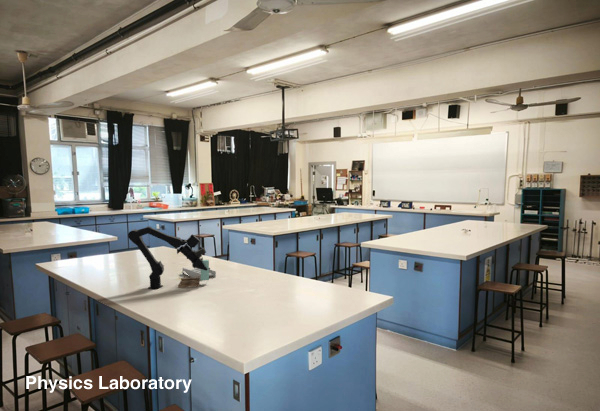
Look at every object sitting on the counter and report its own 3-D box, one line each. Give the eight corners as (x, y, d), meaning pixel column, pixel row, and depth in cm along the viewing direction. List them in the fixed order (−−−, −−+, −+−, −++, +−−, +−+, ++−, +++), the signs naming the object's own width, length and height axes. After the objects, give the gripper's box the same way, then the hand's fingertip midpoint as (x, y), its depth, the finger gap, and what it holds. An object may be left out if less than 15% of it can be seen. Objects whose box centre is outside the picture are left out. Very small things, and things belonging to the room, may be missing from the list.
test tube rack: (201, 280, 230) (218, 276, 239) (201, 274, 229) (218, 270, 239) (182, 273, 246) (199, 270, 256) (182, 267, 246) (198, 264, 256)
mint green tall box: (200, 280, 219) (200, 261, 219) (200, 279, 223) (200, 259, 222) (210, 280, 221) (210, 260, 220) (210, 278, 224) (210, 259, 224)
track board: (179, 287, 214) (178, 280, 214) (180, 283, 224) (180, 276, 223) (199, 286, 217) (199, 279, 217) (199, 281, 227) (199, 275, 226)
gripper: (197, 246, 210) (216, 263, 214) (198, 241, 228) (215, 257, 232) (184, 259, 209) (203, 276, 212) (186, 253, 227) (203, 269, 230)
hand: (207, 269), depth 222 cm, fingers closed on mint green tall box, 3 cm apart
